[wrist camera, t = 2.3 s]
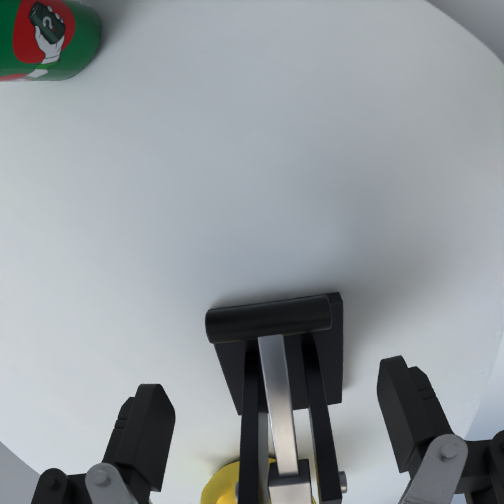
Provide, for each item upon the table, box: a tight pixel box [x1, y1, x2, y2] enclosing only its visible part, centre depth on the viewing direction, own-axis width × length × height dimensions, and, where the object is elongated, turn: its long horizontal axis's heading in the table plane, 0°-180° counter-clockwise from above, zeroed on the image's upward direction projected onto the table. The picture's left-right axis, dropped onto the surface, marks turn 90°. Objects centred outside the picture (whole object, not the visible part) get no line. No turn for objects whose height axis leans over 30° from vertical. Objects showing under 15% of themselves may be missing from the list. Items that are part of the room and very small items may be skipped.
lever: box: [205, 295, 332, 504], centre depth 14 cm, size 12×6×2 cm, turn 10°
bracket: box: [208, 292, 347, 504], centre depth 18 cm, size 11×9×13 cm
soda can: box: [0, 0, 101, 82], centre depth 9 cm, size 5×5×12 cm
